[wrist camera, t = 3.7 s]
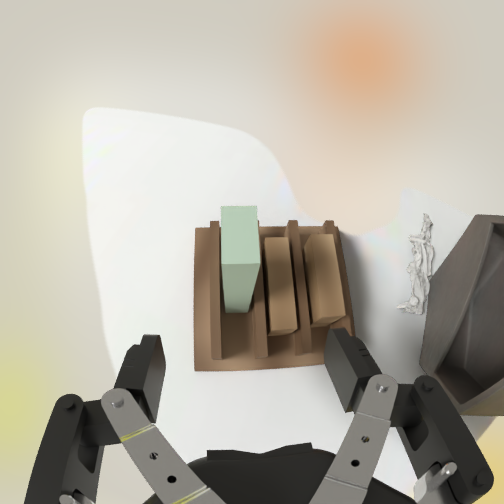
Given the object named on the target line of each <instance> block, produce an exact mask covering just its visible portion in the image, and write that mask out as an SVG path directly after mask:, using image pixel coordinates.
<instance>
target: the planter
mask: <svg viewBox="0 0 504 504" xmlns="http://www.w3.org/2000/svg"><path fill="white" fill-rule="evenodd" d="M429 283H430V288H429V294H428V306H427V315H426V324H425V331H424V338H423V345H422V351H421V357H420V363H419V364H420V366H421V367H422V368H423V370H424V371H425V372H426V373H427V375H428V376H431V377H433V378H435V379H436V380H437V381H438V382H439V383H440V385H441V386H442V388H443V389H444V391H445V392H446V394H447V395H448V397H449V399H450V400H451V402H452V403H453V405H454V406H455V408H456V410H457V411H458V413H459V415H472V416H504V216H499V215H475V216H474V218H473V220H472V221H471V223H470V224H469V226H468V227H467V229H466V230H465V232H464V233H463V235H462V236H461V238H460V239H459V241H458V242H457V244H456V245H455V247H454V248H453V249H452V251H451V252H450V254H449V255H448V256H447V258H446V259H445V261H444V262H443V263H442V265H441V266H440V267H439V269H438V270H437V271H436V272H435V274H434V275H433V276H432V278H431V279H430V282H429Z"/></svg>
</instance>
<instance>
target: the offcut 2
mask: <svg viewBox="0 0 504 504" xmlns="http://www.w3.org/2000/svg"><path fill="white" fill-rule="evenodd" d="M302 258H303V266H304V275H305V283H306V292H307V301H308V310H309V320H310V328H313V327H325V326H328V325H329V324H331V323H333V322H335V321H337V320H338V319H340V318H342V317H343V316H345V315H346V314H345V307H344V300H343V293H342V286H341V279H340V273H339V267H338V261H337V255H336V249H335V244H334V238H333V234H310V236H309V238H308V240H307V242H306V244H305V246H304V248H303V249H302Z"/></svg>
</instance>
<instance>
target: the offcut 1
mask: <svg viewBox="0 0 504 504" xmlns="http://www.w3.org/2000/svg"><path fill="white" fill-rule="evenodd" d="M261 255H262V269H263V284H264V299H265V314H266V329H267V336H277V335H289V334H291V333H292V332H293V331H295V330H296V329H297V319H296V308H295V298H294V288H293V278H292V268H291V259H290V250H289V241H288V237H268V238H265V241H264V245H263V249H262V253H261Z"/></svg>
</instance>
